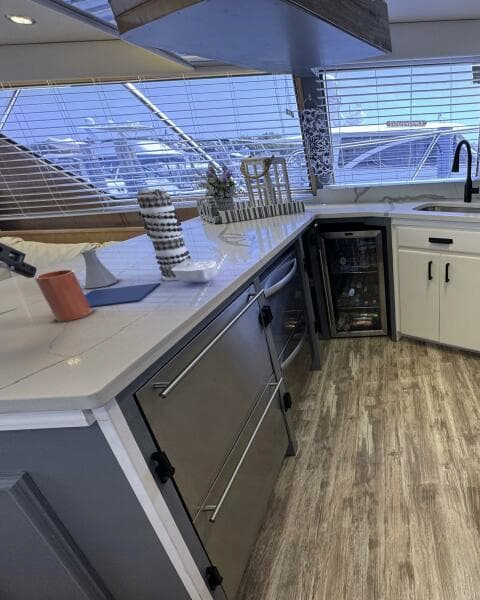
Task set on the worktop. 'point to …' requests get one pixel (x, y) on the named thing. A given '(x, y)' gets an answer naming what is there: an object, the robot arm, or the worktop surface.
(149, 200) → the decorative candle
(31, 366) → the worktop surface
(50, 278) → the cup
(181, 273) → the white rounded container
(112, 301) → the cloth
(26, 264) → the robot arm
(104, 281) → the flask
